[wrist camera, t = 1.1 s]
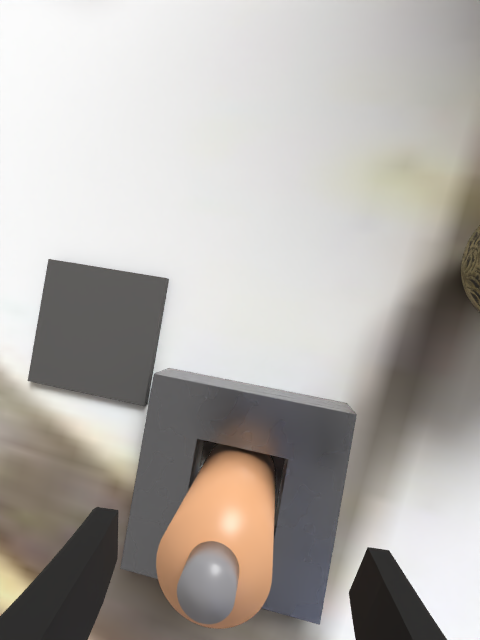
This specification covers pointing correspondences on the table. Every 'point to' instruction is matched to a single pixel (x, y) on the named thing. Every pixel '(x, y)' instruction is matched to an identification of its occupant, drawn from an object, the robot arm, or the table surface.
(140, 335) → the mat
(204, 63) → the table surface
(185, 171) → the table surface
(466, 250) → the cup
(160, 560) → the tapered peach cylinder
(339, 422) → the housing
